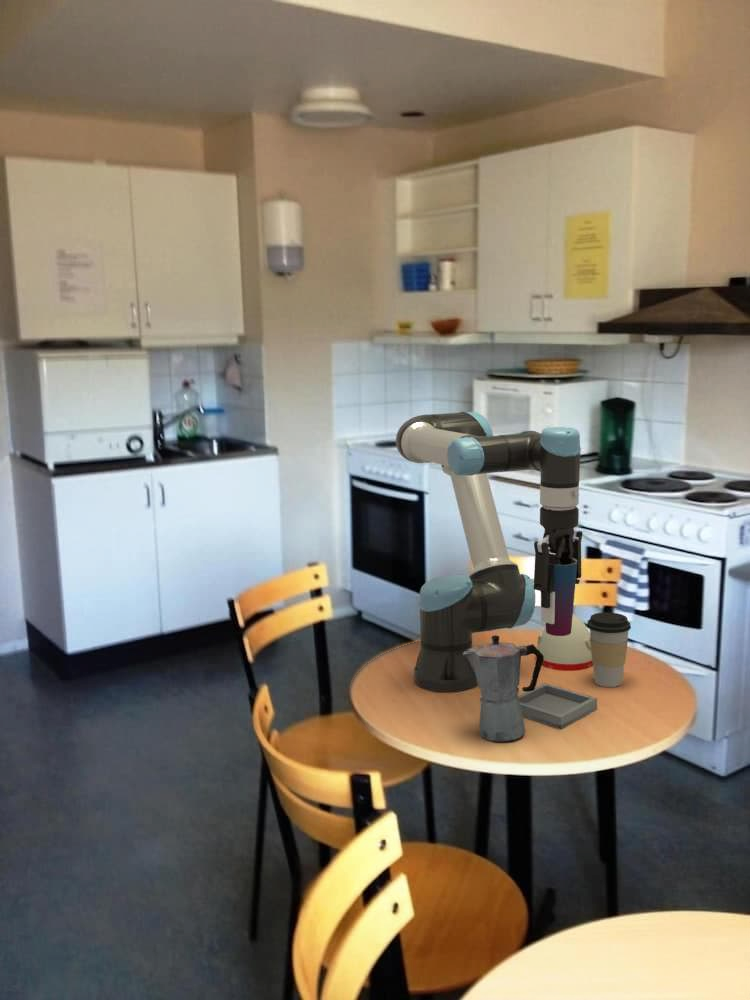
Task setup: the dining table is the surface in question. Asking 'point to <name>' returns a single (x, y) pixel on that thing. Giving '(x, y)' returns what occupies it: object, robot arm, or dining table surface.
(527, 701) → the tray
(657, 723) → the dining table surface
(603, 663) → the coffee cup
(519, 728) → the moka pot
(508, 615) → the robot arm
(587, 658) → the kitchen timer
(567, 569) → the cup
